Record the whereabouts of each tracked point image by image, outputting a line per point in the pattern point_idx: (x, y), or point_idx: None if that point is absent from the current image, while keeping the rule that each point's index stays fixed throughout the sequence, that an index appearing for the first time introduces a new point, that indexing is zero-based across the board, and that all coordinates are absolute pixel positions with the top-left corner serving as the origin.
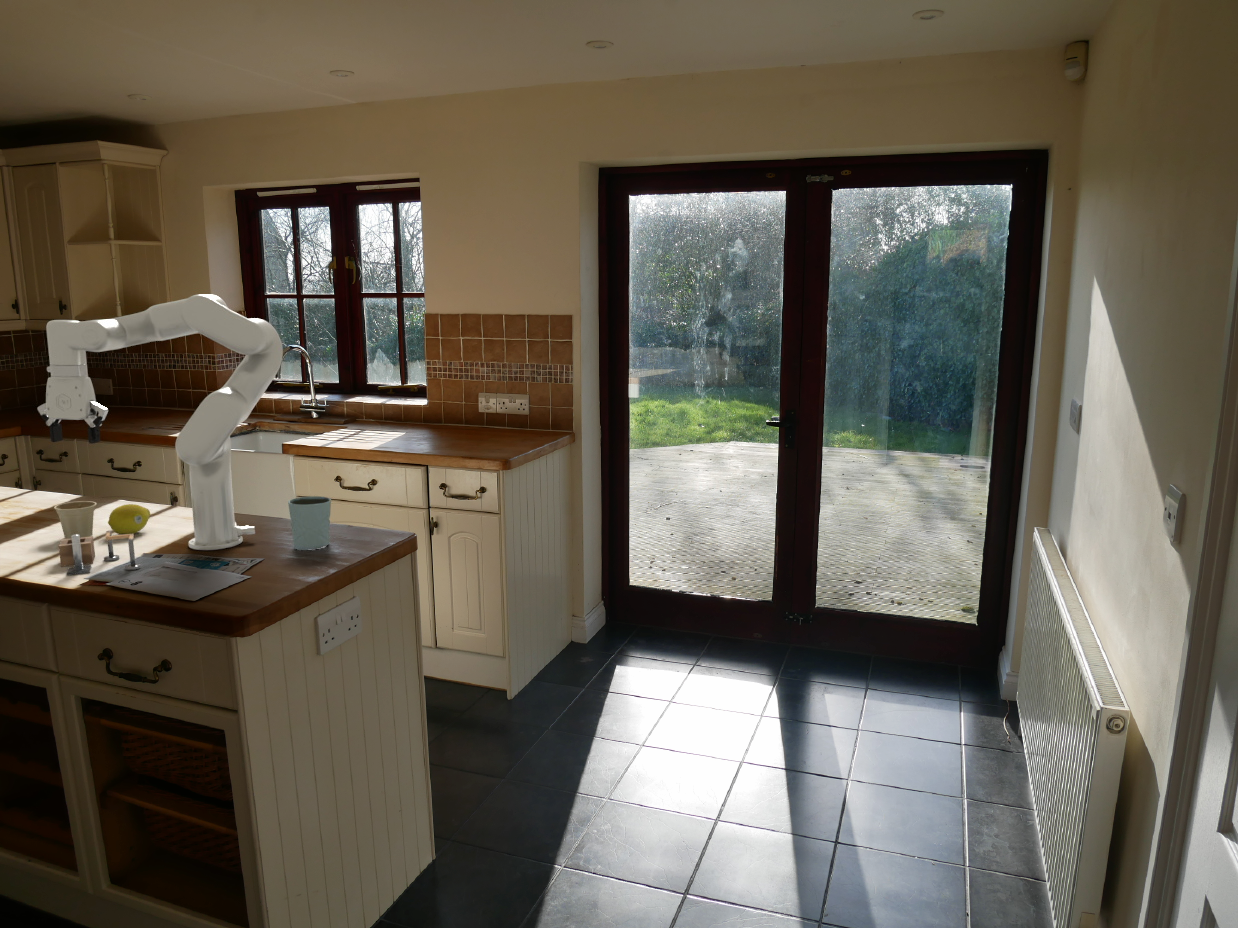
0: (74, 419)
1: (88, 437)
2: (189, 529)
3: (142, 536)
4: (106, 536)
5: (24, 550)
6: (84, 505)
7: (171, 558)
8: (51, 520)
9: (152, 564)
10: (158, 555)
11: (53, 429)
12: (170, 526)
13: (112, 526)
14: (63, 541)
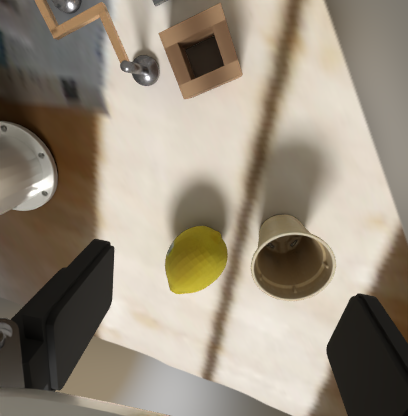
0: (112, 405)
1: (95, 264)
2: None
3: (169, 226)
4: (102, 9)
5: (348, 151)
6: (286, 291)
7: (36, 71)
8: None
9: (47, 26)
10: (72, 95)
11: (396, 374)
12: (153, 280)
13: (213, 230)
14: (229, 52)
